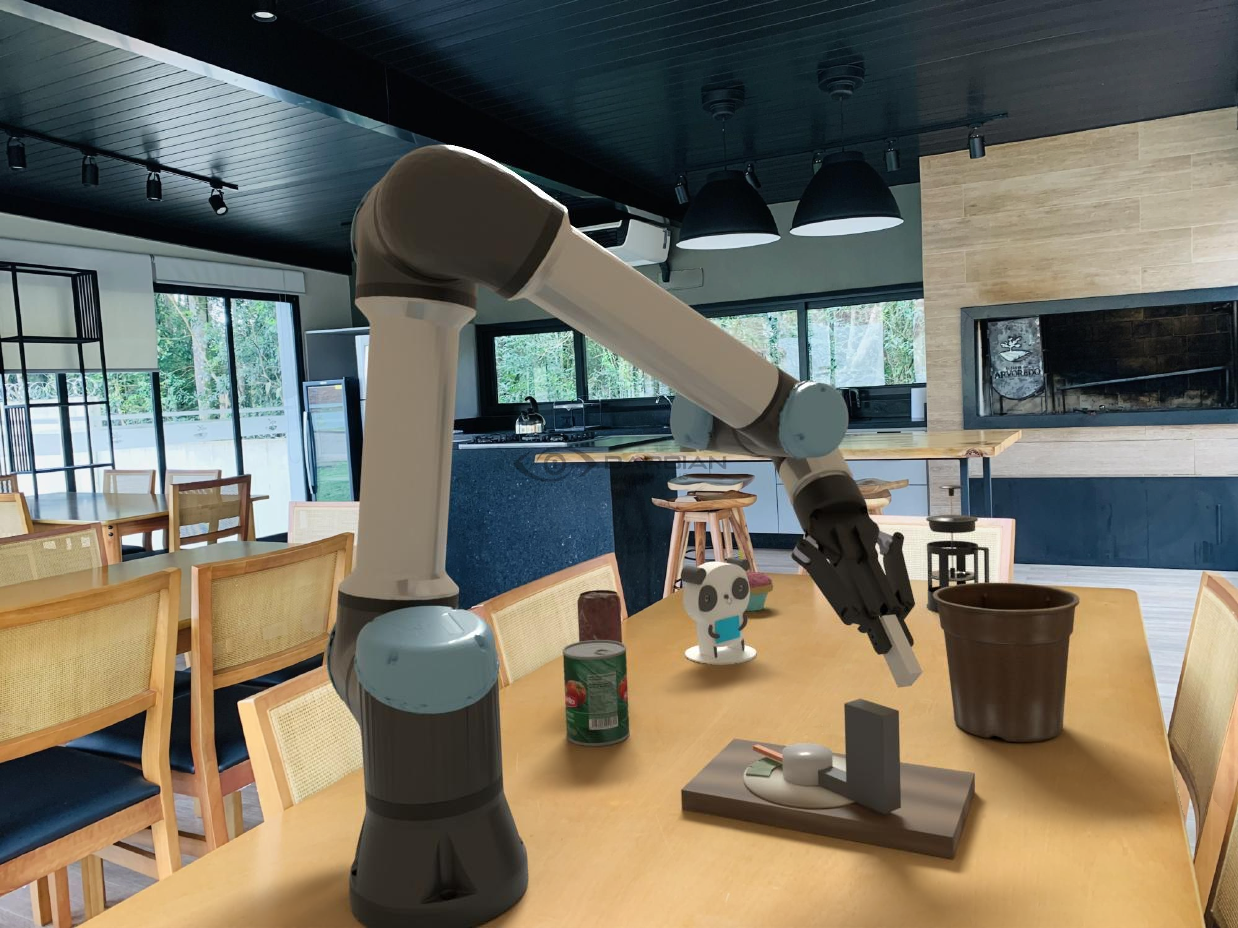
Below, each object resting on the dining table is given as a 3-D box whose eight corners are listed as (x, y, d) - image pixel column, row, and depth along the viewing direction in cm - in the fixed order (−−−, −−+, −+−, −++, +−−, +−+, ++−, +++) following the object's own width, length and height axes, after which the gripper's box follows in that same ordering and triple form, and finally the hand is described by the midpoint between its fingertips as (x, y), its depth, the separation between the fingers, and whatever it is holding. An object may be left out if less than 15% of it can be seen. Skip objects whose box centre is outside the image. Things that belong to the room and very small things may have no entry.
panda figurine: (714, 670, 140) (711, 572, 139) (667, 655, 149) (663, 563, 148) (771, 654, 147) (768, 561, 146) (722, 641, 156) (719, 553, 155)
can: (621, 696, 129) (616, 597, 128) (577, 695, 131) (572, 597, 130) (629, 683, 135) (625, 588, 134) (587, 682, 137) (582, 588, 136)
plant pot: (907, 715, 117) (905, 589, 116) (1008, 695, 123) (1006, 576, 122) (1002, 760, 102) (1000, 616, 101) (1112, 736, 108) (1111, 599, 107)
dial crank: (738, 758, 99) (735, 673, 99) (772, 746, 102) (770, 664, 101) (874, 819, 84) (872, 719, 83) (910, 804, 87) (908, 707, 86)
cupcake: (725, 612, 176) (723, 550, 175) (733, 602, 184) (731, 543, 184) (770, 613, 174) (768, 550, 173) (776, 603, 182) (774, 543, 181)
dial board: (953, 859, 81) (952, 831, 81) (681, 808, 93) (680, 784, 93) (974, 791, 94) (974, 767, 94) (734, 755, 107) (734, 734, 106)
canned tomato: (553, 735, 116) (549, 648, 115) (602, 719, 121) (599, 636, 120) (593, 752, 110) (589, 660, 109) (643, 734, 115) (639, 647, 114)
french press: (915, 609, 172) (912, 486, 170) (934, 600, 179) (932, 481, 178) (979, 617, 165) (977, 488, 163) (996, 606, 172) (995, 483, 170)
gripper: (861, 510, 109) (951, 691, 94) (760, 517, 105) (836, 706, 90) (886, 468, 103) (985, 653, 89) (780, 473, 100) (865, 667, 85)
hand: (910, 679), depth 90 cm, fingers closed
